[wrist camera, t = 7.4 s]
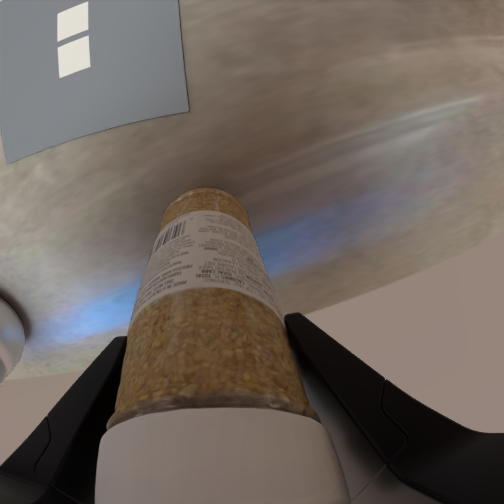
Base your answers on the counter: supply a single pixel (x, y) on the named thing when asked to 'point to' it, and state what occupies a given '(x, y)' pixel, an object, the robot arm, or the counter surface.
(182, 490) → the sprinkles bottle
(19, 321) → the plastic bottle
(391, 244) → the counter surface
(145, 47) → the mat
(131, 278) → the counter surface
